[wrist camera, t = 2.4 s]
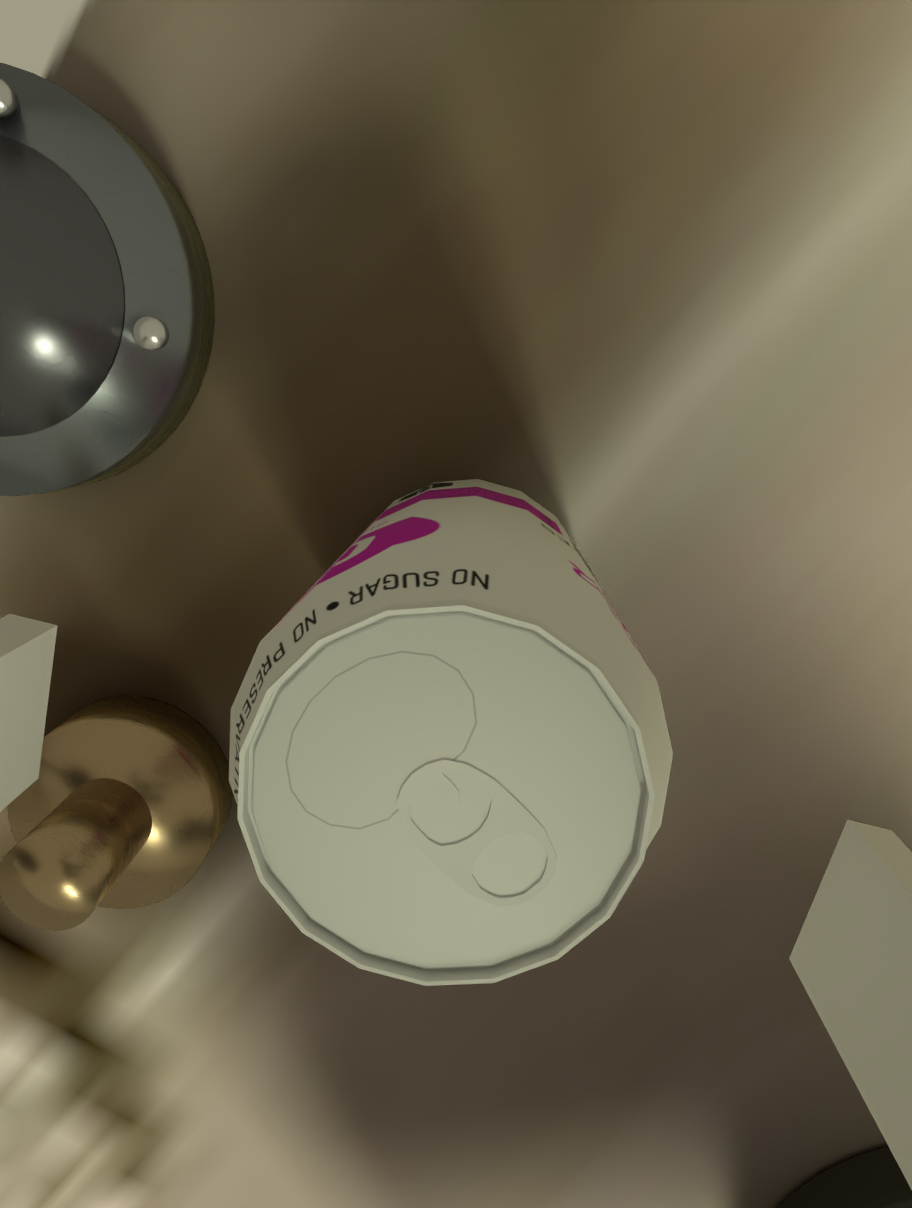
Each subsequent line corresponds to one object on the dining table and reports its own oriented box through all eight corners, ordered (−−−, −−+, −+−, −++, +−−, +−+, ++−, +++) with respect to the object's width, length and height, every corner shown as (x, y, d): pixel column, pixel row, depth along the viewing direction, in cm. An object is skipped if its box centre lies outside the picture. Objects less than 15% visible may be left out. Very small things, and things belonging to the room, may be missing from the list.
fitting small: (247, 722, 30) (182, 810, 23) (214, 888, 31) (146, 1010, 25) (57, 675, 29) (-60, 750, 23) (35, 844, 31) (-80, 957, 25)
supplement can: (299, 595, 28) (101, 801, 14) (469, 424, 27) (447, 455, 12) (463, 752, 30) (439, 1093, 15) (636, 598, 28) (795, 813, 13)
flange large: (245, 147, 25) (214, 115, 22) (182, 525, 28) (147, 539, 25) (-143, 45, 25) (-224, -1, 22) (-166, 437, 28) (-239, 442, 25)
